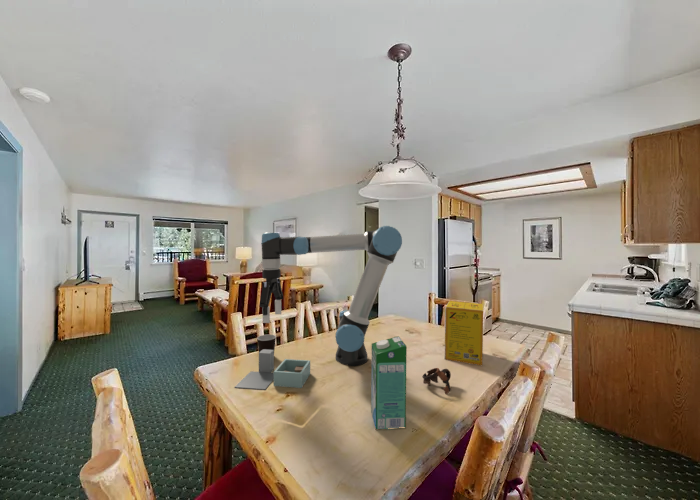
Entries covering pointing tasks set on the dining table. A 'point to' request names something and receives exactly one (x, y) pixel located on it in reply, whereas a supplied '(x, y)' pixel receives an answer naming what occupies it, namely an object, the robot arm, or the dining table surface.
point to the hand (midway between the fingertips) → (272, 318)
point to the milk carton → (388, 383)
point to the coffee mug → (266, 342)
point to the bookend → (260, 373)
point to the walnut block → (299, 368)
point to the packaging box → (464, 332)
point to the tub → (291, 373)
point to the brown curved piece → (442, 374)
